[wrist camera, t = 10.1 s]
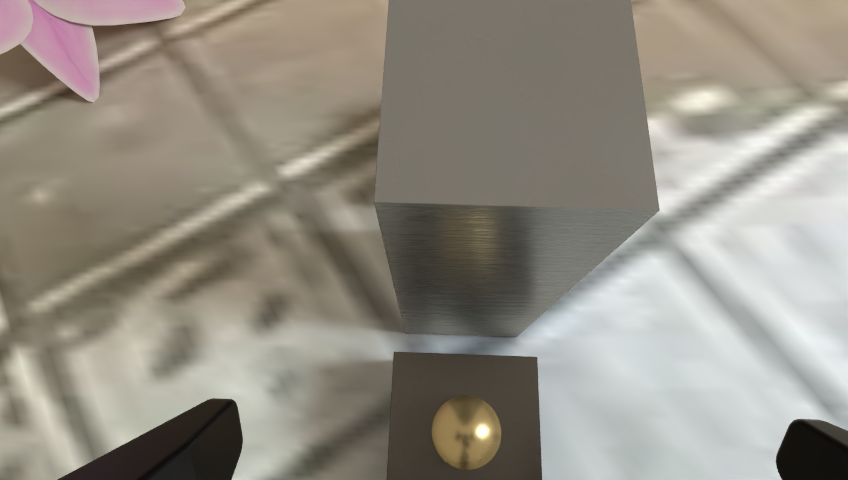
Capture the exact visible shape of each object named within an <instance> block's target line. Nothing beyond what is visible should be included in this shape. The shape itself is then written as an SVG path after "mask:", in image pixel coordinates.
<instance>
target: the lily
mask: <svg viewBox="0 0 848 480" xmlns="http://www.w3.org/2000/svg"><path fill="white" fill-rule="evenodd" d="M185 8H186V7H185V5H184V2H183V1H182V0H0V54H2V53H4V52H7V51H9V50H10V49H12V48H14V47H15V46H17V45H19V44H21V45H22V46H23V47H24V48H25V49H26V50H27V51H28V52H29V53H30V54H31V55H32V56H33V57H34V58H35V59H37V60H38V61H39V62H40V63H41V64H42V65H43V66H44V67H46V68H47V69H48V70H49V71H50V72H51V73H52V74H54V75H55V76H56V77H57V78H58V79H59V80H61V81H62V82H63V83H64V84H66V85H67V86H68V87H69V88H71V89H72V90H73V91H74V92H76V93H77V94H78V95H80V96H81V97H83V98H84V99H86V100H87V101H90V102H94V101H95V100H96V99H97V98H98V97H99V87H100V81H99V64H98V55H97V47H96V42H95V37H94V33H93V29H92V26H91V25H121V24H132V23H141V22H150V21H157V20H164V19H170V18H174V17H177V16H180V15H181V14H182V12H183V11H184V9H185Z"/></svg>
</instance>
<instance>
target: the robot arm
mask: <svg viewBox="0 0 848 480" xmlns="http://www.w3.org/2000/svg"><path fill="white" fill-rule="evenodd" d="M242 443H243V437H242V430H241V424H240V418H239V413H238V407H237V404H236V402H235V401H234V400H232V399H209V400H207V401H205V402H203V403H201V404H199V405H197V406H195V407H193V408H192V409H190V410H188V411H186V412H184V413H182V414H180V415H178V416H177V417H175V418H173V419H171V420H169V421H167V422H165V423H163V424H161V425H160V426H158V427H156V428H154V429H152V430H150V431H148V432H146V433H145V434H143V435H141V436H139V437H137V438H135V439H133V440H131V441H129V442H128V443H126V444H124V445H122V446H120V447H118V448H116V449H114V450H112V451H111V452H109V453H107V454H105V455H103V456H101V457H99V458H97V459H96V460H94V461H92V462H90V463H88V464H86V465H84V466H82V467H80V468H79V469H77V470H75V471H73V472H71V473H69V474H67V475H65V476H64V477H62V478H60V479H58V480H231V479H232V476H233V474H234V471H235V468H236V465H237V462H238V460H239V457H240V454H241V450H242ZM776 465H777V469H778V472H779V474H780V477H781V478H782V480H848V431H847V430H844V429H842V428H840V427H837V426H835V425H832V424H830V423H828V422H825V421H821V420H811V419H797V420H794V421H793V422H792V423H790V425H789V427H788V429H787V432H786V434H785V436H784V439H783V441H782V443H781V446H780V448H779V450H778V453H777V456H776Z"/></svg>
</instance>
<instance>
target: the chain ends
mask: <svg viewBox="0 0 848 480" xmlns="http://www.w3.org/2000/svg"><path fill="white" fill-rule="evenodd" d="M387 480H542V467H541V442H540V417H539V392H538V368H537V357H521V356H494V355H466V354H438V353H411V352H394V358H393V376H392V394H391V412H390V430H389V448H388V466H387Z"/></svg>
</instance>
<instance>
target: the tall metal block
mask: <svg viewBox="0 0 848 480" xmlns="http://www.w3.org/2000/svg"><path fill="white" fill-rule="evenodd" d="M374 204H375V208H376V213H377V217H378V221H379V225H380V229H381V233H382V238H383V242H384V246H385V250H386V254H387V259H388V263H389V267H390V271H391V275H392V280H393V284H394V288H395V292H396V296H397V300H398V305H399V309H400V313H401V317H402V321H403V326H404V330H405V333H410V334H440V335H469V336H499V337H517V336H518V335H520V334H521V333H522V332H523V331H524V330H525V329H526V328H527V327H529V326H530V325H531V324H532V323H533V322H534V321H535V320H536V319H538V318H539V317H540V316H541V315H542V314H543V313H544V312H546V311H547V310H548V309H549V308H550V307H551V306H552V305H553V304H555V303H556V302H557V301H558V300H559V299H560V298H561V297H562V296H564V295H565V294H566V293H567V292H568V291H569V290H570V289H571V288H573V287H574V286H575V285H576V284H577V283H578V282H579V281H580V280H582V279H583V278H584V277H585V276H586V275H587V274H588V273H590V272H591V271H592V270H593V269H594V268H595V267H596V266H597V265H599V264H600V263H601V262H602V261H603V260H604V259H605V258H606V257H608V256H609V255H610V254H611V253H612V252H613V251H614V250H615V249H617V248H618V247H619V246H620V245H621V244H622V243H623V242H624V241H626V240H627V239H628V238H629V237H630V236H631V235H632V234H634V233H635V232H636V231H637V230H638V229H639V228H640V227H641V226H643V225H644V224H645V223H646V222H647V221H648V220H649V219H650V218H652V217H653V216H654V215H655V214H656V213H657V212H658V211H659V203H658V196H657V189H656V181H655V174H654V167H653V160H652V152H651V145H650V138H649V130H648V123H647V116H646V108H645V101H644V94H643V87H642V79H641V72H640V65H639V57H638V50H637V43H636V35H635V28H634V21H633V14H632V6H631V0H389V6H388V19H387V33H386V46H385V60H384V73H383V87H382V100H381V114H380V127H379V141H378V154H377V168H376V182H375V195H374Z"/></svg>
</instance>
